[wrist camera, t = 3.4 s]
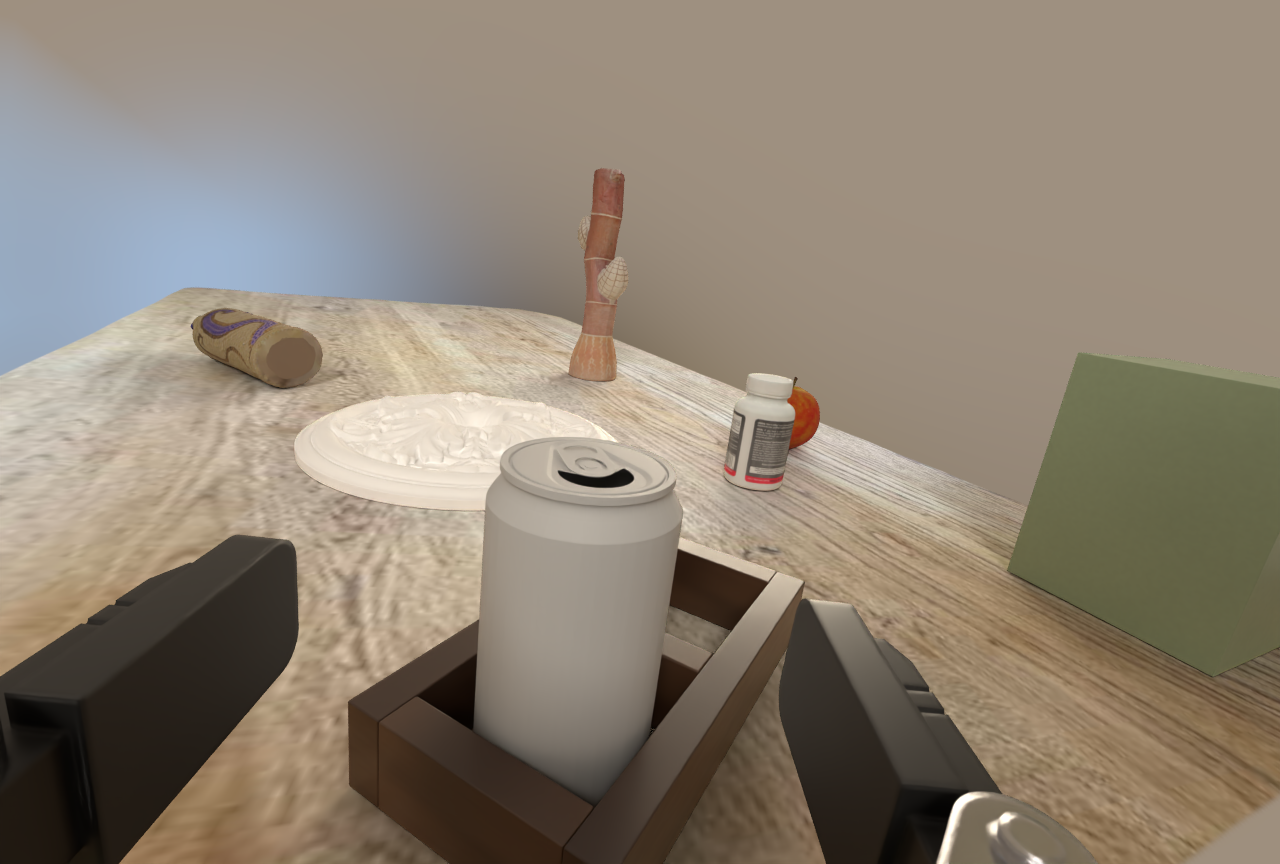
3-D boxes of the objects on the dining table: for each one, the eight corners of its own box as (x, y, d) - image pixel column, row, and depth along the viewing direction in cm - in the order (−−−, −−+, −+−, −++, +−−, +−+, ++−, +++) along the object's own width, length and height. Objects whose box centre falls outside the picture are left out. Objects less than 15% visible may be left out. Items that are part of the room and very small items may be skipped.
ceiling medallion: (461, 393, 73) (462, 368, 72) (670, 449, 62) (675, 420, 61) (216, 442, 49) (213, 404, 48) (487, 549, 37) (490, 502, 36)
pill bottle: (788, 482, 56) (809, 380, 54) (769, 497, 52) (791, 387, 49) (736, 466, 59) (753, 368, 56) (713, 480, 55) (730, 374, 52)
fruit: (789, 460, 63) (804, 386, 61) (738, 440, 68) (750, 371, 66) (824, 452, 68) (839, 383, 66) (773, 434, 73) (786, 369, 71)
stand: (1096, 552, 49) (1167, 359, 45) (1296, 639, 39) (1414, 400, 35) (1006, 570, 44) (1077, 352, 39) (1213, 677, 33) (1340, 399, 29)
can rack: (792, 639, 32) (805, 580, 31) (597, 978, 16) (611, 879, 15) (628, 573, 37) (635, 520, 36) (348, 785, 20) (346, 700, 20)
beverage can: (486, 865, 18) (510, 505, 15) (460, 716, 24) (473, 429, 21) (671, 812, 21) (727, 495, 18) (609, 688, 27) (642, 430, 23)
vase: (622, 383, 91) (647, 170, 83) (576, 381, 88) (597, 161, 80) (601, 368, 100) (622, 176, 92) (558, 366, 98) (575, 168, 89)
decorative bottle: (328, 385, 69) (326, 327, 67) (256, 392, 63) (252, 329, 61) (235, 344, 84) (231, 296, 82) (168, 347, 78) (163, 294, 76)
